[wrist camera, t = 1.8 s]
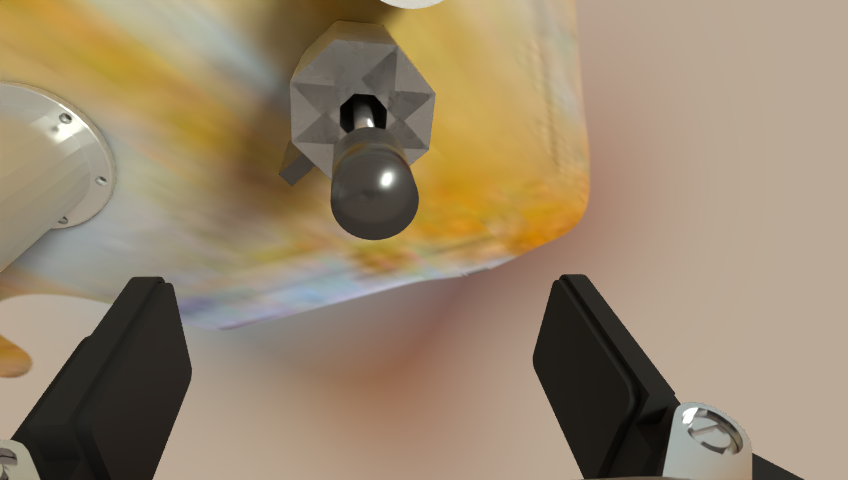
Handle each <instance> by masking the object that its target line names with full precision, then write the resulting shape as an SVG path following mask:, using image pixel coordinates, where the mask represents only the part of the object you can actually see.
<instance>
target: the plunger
mask: <svg viewBox="0 0 848 480" xmlns="http://www.w3.org/2000/svg"><path fill="white" fill-rule="evenodd" d="M353 112H354V125H355V130H353V131H351V132H349V133H348V134H346V135H345V136H344V137H343V138H342V139H341V140H340V141H339V143H338V144H337V146H336V148H335V151H334V154H333V163H332V183H331V208H332V212H333V215H334V217H335V219H336V221H337V222H338V223H339V225H340V226H341V227H342V228H343V229H344V230H346V231H347V232H348V233H350V234H352V235H354V236H356V237H359V238H362V239H367V240H381V239H386V238H389V237H392V236H394V235H396V234H398V233H400V232H401V231H403V230H404V229H405V228H406V227H407V226H408V225H409V224H410V223H411V221H412V220H413V218H414V216H415V214H416V212H417V209H418V204H419V196H418V191H417V187H416V184H415V181H414V178H413V175H412V172H411V169H410V166H409V163H408V161H407V158H406V155H405V152H404V149H403V147H402V145H401V143H400V142H399V141H398V139H397V138H396V137H395V136H393V135H392V134H391V133H389V132H388V131H386V130H383V129H380V128H376V127H375V125H374V120H373V116H372V111H371V106H370V101H369V97H368V96H367V95H366V94H355V95H354V97H353Z"/></svg>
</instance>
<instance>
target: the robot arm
mask: <svg viewBox="0 0 848 480" xmlns="http://www.w3.org/2000/svg"><path fill="white" fill-rule="evenodd" d="M68 115H69V116H70V117H71V118H70V117H69V116H68ZM104 178H105V179H104ZM115 180H116V169H115V164H114V160H113V156H112V154H111V151H110V149H109V147H108V144H107V143H106V141H105V140H104V138H103V136H102V135H101V133H100V132H99V130H98V129H97V128H96V127H95V126H94V125H93V124H92V123H91V122H90V120H89V119H88V118H87V117H86V116H84V115H83V114H82V113H81V112H80V111H78V110H77V109H76V108H75V107H74V106H72V105H70V104H69V103H67V102H66V101H64V100H62V99H61V98H59V97H58V96H55V95H53V94H51V93H49V92H47V91H44V90H42V89H40V88H36V87H33V86H29V85H26V84H23V83H16V82H8V81H0V273H1V272H2V271H3V270H4V269H5V268H6V267H8V266H9V265H10V264H11V263H12V262H13V261H14V260H15V259H17V258H18V257H19V256H20V255H21V254H22V253H23V252H24V251H26V250H27V249H28V248H29V247H30V246H31V245H32V244H33V243H35V242H36V241H37V240H38V239H39V238H40V237H41V236H42V235H43V234H45V233H46V232H47V231H48V230H49V229H57V228H66V227H70V226H74V225H78V224H80V223H82V222H84V221H87V220H89V219H90V218H92V217H93V216H94V215H95V214H97V213H98V212H99V211H100V210H101V209H102V208H103V207H104V206H105V205H106V204H107V202H108V200H109V199H110V197H111V195H112V193H113V190H114V186H115ZM533 366H534V369H535V371H536V374H537V376H538V378H539V380H540V382H541V385H542V387H543V389H544V391H545V394H546V396H547V398H548V400H549V402H550V404H551V406H552V409H553V411H554V413H555V416H556V418H557V420H558V422H559V424H560V427H561V429H562V431H563V433H564V435H565V438H566V440H567V442H568V444H569V446H570V449H571V451H572V453H573V455H574V458H575V460H576V462H577V464H578V466H579V469H580V471H581V473H582V475H583V477H584V479H583V480H804V479H802V478H800V477H798V476H796V475H794V474H792V473H790V472H788V471H786V470H784V469H783V468H781V467H779V466H777V465H774V464H773V463H771V462H769V461H767V460H765V459H763V458H761V457H759V456H757V455H755V454H754V453H752V446H751V442H750V439H749V437H748V435H747V434H746V432H745V430H744V429H743V428H742V427H741V426H740V425H739V424H738V423H737V422H736V421H735V420H734V419H732V418H731V417H730V416H728V415H727V414H726V413H724V412H722V411H720V410H718V409H717V408H715V407H712V406H709V405H706V404H703V403H697V402H688V403H683V404H680V402H679V401H678V400H677V399H676V397H675V396H674V395H675V392H674V391H673V390H672V388H671V387H670V386H669V385H668V383H667V382H666V380H665V379H664V378H663V377H662V375H661V374H660V373H659V371H658V370H657V369H656V367H655V366H654V365H653V364H652V362H651V361H650V359H649V358H648V357H647V355H646V354H645V353H644V351H643V350H642V349H641V348H640V346H639V345H638V343H637V342H636V341H635V340H634V338H633V337H632V336H631V334H630V333H629V332H628V330H627V329H626V328H625V326H624V325H623V324H622V322H621V321H620V320H619V318H618V317H617V316H616V315H615V313H614V312H613V311H612V309H611V308H610V306H609V305H608V304H607V302H606V301H605V300H604V299H603V297H602V296H601V295H600V293H599V292H598V291H597V289H596V288H595V287H594V285H593V284H592V283H591V281H590V280H589V279H588V277H587V276H585V275H583V274H570V275H569V274H568V275H567V274H566V275H565V274H564V275H562V276H561V277H560V278H559V280H555V281H554V282H553V285H552V288H551V292H550V296H549V299H548V303H547V306H546V310H545V314H544V317H543V321H542V325H541V328H540V332H539V336H538V339H537V343H536V346H535V350H534V354H533ZM191 374H192V368H191V363H190V358H189V354H188V350H187V345H186V340H185V336H184V332H183V327H182V323H181V319H180V314H179V310H178V305H177V301H176V297H175V292H174V288H173V285H172V284H171V283H165V281H164V279H163V278H162V277H133V278H131V280H130V281H129V282H128V283H127V285H126V286H125V288H124V289H123V291H122V292H121V293H120V295H119V296H118V298H117V299H116V300H115V302H114V303H113V305H112V306H111V308H110V309H109V310H108V312H107V313H106V315H105V316H104V318H103V319H102V320H101V322H100V323H99V325H98V326H97V327H96V329H95V330H94V332H93V333H92V334H91V335H90V336H88V337H86V338H84V339H83V340H82V341H81V342H80V344H79V345H78V346H77V348H76V349H75V351H74V352H73V353H72V355H71V356H70V358H69V359H68V360H67V362H66V363H65V364H64V366H63V367H62V369H61V370H60V371H59V373H58V374H57V375H56V377H55V378H54V380H53V381H52V382H51V384H50V385H49V387H48V388H47V389H46V391H45V392H44V393H43V395H42V396H41V398H40V399H39V400H38V402H37V403H36V405H35V406H34V407H33V409H32V410H31V412H30V413H29V414H28V416H27V417H26V418H25V420H24V421H23V423H22V424H21V425H20V427H19V428H18V430H17V431H16V432H15V434H14V435H13V437H12V438H11V439H10V440H0V480H152V479H153V477H154V474H155V471H156V469H157V466H158V464H159V461H160V459H161V456H162V454H163V451H164V448H165V445H166V443H167V441H168V437H169V436H170V433H171V430H172V428H173V425H174V423H175V420H176V417H177V415H178V412H179V410H180V407H181V405H182V402H183V399H184V397H185V394H186V392H187V389H188V386H189V384H190V381H191Z"/></svg>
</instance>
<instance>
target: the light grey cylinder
mask: <svg viewBox="0 0 848 480" xmlns="http://www.w3.org/2000/svg"><path fill="white" fill-rule="evenodd" d="M381 1H383V2H385V3H387V4H390V5H392V6H396V7H400V8H407V9H416V8H424V7H428V6H432V5H434V4H437V3H439V2H441V1H443V0H381Z"/></svg>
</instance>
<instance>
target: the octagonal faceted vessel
mask: <svg viewBox="0 0 848 480" xmlns="http://www.w3.org/2000/svg"><path fill="white" fill-rule="evenodd" d="M354 93H355V94H368V95H367V96H368V97H369V101H370V106H371V111H372V116H373V120H374V125H375V127H376V128H380V129H383V130H386V131H388V132H389V133H391V134H392V135H393V136H395V137H396V138H397V139H398V141H399V142H400V143H401V145H402V147H403V149H404V152H405V155H406V158H407V161H408V163H409V166H410V165H411V164H412V163H414V162H415V161H416V160H417V159H418V158H420V157H421V156H422V155H423V154H424V153H426V152H427V151H428V150H429V145H430V137H431V128H432V120H433V111H434V103H435V92H434V91H433V90H432V88H431V87H430V86H429V84H428V83H427V82H426V80H425V79H424V78H423V76H422V75H421V74H420V72H419V71H418V69H417V68H416V67H415V65H414V64H413V63H412V61H411V60H410V59H409V58H408V56H407V55H406V54H405V52H404V51H403V50H402V49H401V47H400V46H399V45H398V43H397V42H396V41H395V40H394V38H393V37H392V36H391V35H390V33H389V32H388V31H387V29H386V28H385V27H384V26H383V25H380V24H370V23H361V22H351V21H341V20H336V21H335V22H334V23H333V24H332V25H331V26H330V27H329V28H328V29H327V30H326V31H325V32H324V33H323V34H322V35H321V36H320V37H319V38H318V39H317V40H315V41H314V42H313V43H312V44H311V45H310V46H309V47H308V48H307V49H306V50H305V51H304V52H303V55H302V57H301V59H300V61H299V63H298V65H297V68H296V70H295V72H294V74H293V76H292V78H291V81H290V106H291V136H292V140H291V141H289V143H288V146H287V150H286V153H285V156H284V159H283V163H282V166H281V169H280V172H279V175H280V176H281V177H282V178H284V179H285V180H286V181H287V182H288V183H289V184H290V185H291V186H293V185H294V184H295V183H296V182H297V181H298V180H299V179H300V178H302V177H303V176H304V175H305V174H306V173H307V172H308V171H310V170H311V169H312V168H313V167H314V166H315V165H316V166H317V167H318V168H319V169H320V170H321V171H322V172H323V173H324V174H325V175H326V176H327V177H328V178H330V179H331V180H332V163H333V154H334V151H335V148H336V146H337V144H338V143H339V141H340V140H341V139H342V138H343V137H344V136H345V135H346V134H348V133H349V132H351V131H353V130H355V125H354V112H353V97H351V96H352V95H353V94H354Z"/></svg>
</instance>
